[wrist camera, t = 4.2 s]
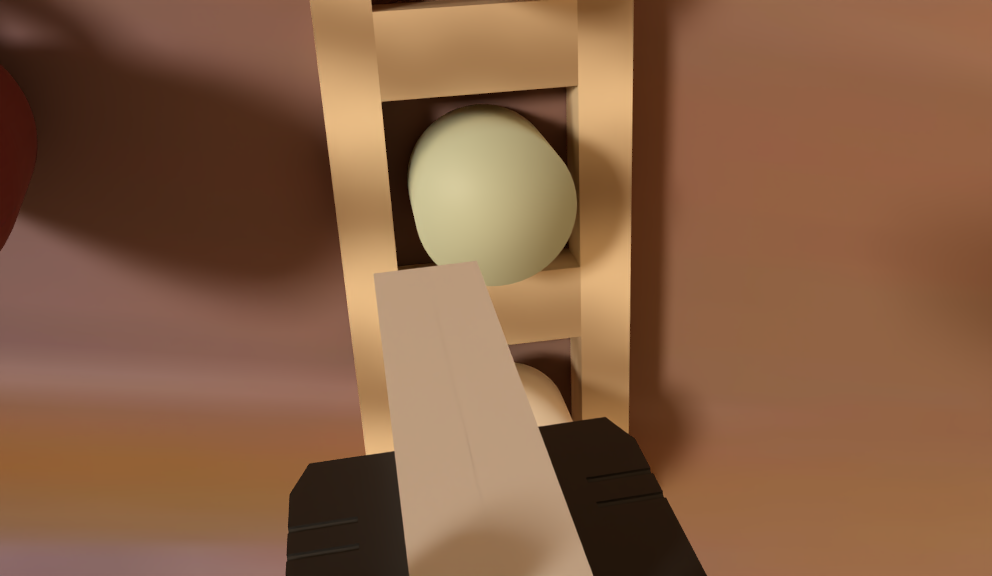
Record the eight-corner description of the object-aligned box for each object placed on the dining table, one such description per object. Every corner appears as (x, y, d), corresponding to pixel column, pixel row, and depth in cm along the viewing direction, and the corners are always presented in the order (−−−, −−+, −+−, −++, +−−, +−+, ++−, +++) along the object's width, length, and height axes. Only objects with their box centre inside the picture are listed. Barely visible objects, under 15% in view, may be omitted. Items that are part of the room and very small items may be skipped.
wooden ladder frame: (278, -272, 29) (274, -283, 27) (619, -283, 30) (637, -294, 29) (374, 510, 41) (376, 538, 39) (615, 477, 43) (627, 504, 41)
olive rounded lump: (400, 110, 34) (407, 137, 30) (551, 98, 35) (576, 123, 31) (413, 253, 36) (421, 294, 33) (554, 238, 37) (577, 277, 33)
